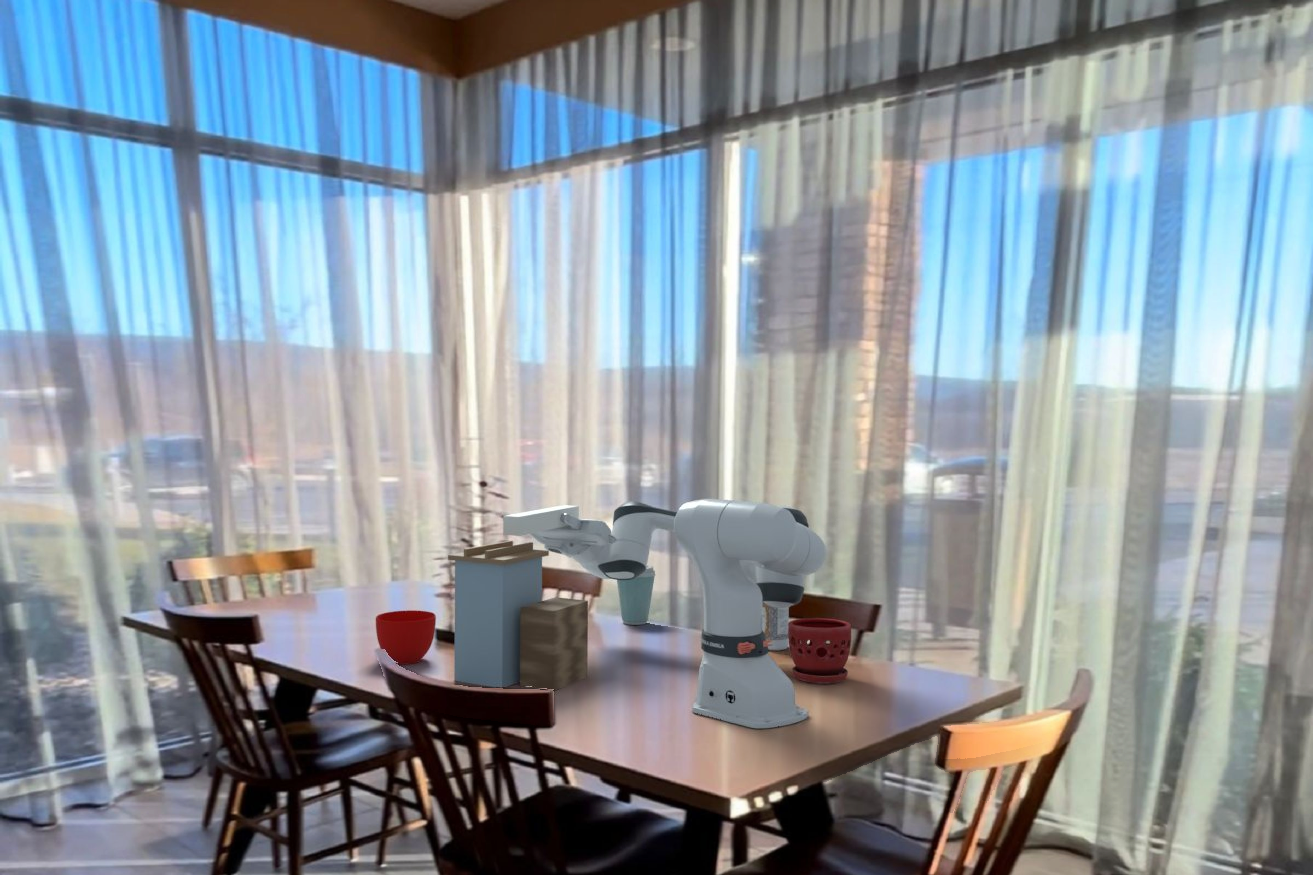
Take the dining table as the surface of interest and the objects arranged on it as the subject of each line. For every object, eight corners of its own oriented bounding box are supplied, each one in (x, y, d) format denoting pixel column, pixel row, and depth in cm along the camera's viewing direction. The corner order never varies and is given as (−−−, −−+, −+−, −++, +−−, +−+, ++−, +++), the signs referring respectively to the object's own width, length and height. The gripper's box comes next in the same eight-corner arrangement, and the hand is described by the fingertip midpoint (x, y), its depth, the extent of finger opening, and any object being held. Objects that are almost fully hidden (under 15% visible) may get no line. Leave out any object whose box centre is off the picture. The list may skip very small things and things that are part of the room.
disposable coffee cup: (613, 626, 264) (613, 568, 263) (616, 618, 274) (616, 562, 274) (654, 627, 263) (654, 569, 263) (655, 618, 274) (656, 563, 274)
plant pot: (863, 679, 213) (864, 622, 213) (824, 690, 205) (825, 631, 204) (813, 667, 223) (814, 613, 223) (774, 677, 214) (775, 621, 214)
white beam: (564, 522, 236) (564, 505, 236) (578, 523, 234) (578, 505, 234) (503, 534, 214) (503, 515, 214) (519, 535, 213) (518, 516, 212)
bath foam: (754, 645, 244) (755, 562, 244) (780, 643, 246) (781, 561, 246) (765, 651, 237) (766, 566, 237) (792, 649, 239) (794, 565, 239)
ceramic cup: (414, 647, 238) (414, 605, 237) (445, 662, 224) (445, 617, 224) (360, 655, 230) (360, 611, 230) (388, 671, 216) (389, 624, 216)
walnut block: (555, 671, 217) (555, 597, 217) (587, 676, 213) (587, 600, 213) (520, 685, 206) (520, 607, 205) (553, 691, 202) (553, 611, 201)
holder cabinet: (494, 664, 223) (495, 539, 222) (547, 672, 216) (548, 543, 216) (447, 681, 209) (448, 547, 208) (503, 690, 202) (504, 552, 202)
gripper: (616, 555, 233) (589, 531, 222) (541, 550, 242) (511, 526, 231) (622, 530, 235) (596, 505, 224) (548, 525, 245) (519, 501, 234)
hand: (553, 515), depth 228 cm, fingers closed on white beam, 4 cm apart
